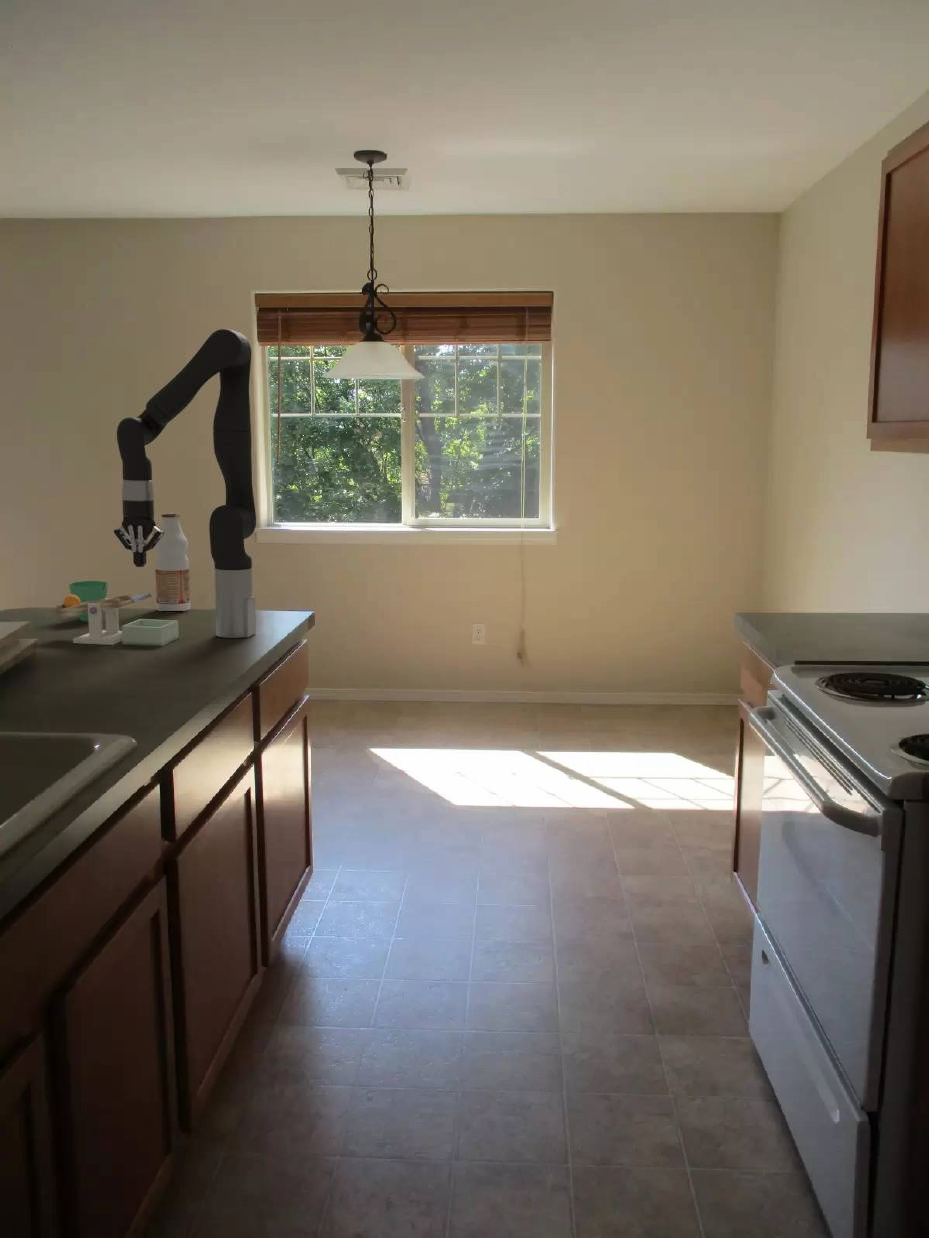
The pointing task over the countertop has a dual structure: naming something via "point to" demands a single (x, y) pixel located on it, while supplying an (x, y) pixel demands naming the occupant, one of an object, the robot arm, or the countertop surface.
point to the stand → (95, 627)
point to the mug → (88, 592)
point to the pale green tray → (150, 632)
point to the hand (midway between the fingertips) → (139, 566)
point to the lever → (105, 603)
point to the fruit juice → (172, 567)
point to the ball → (71, 601)
